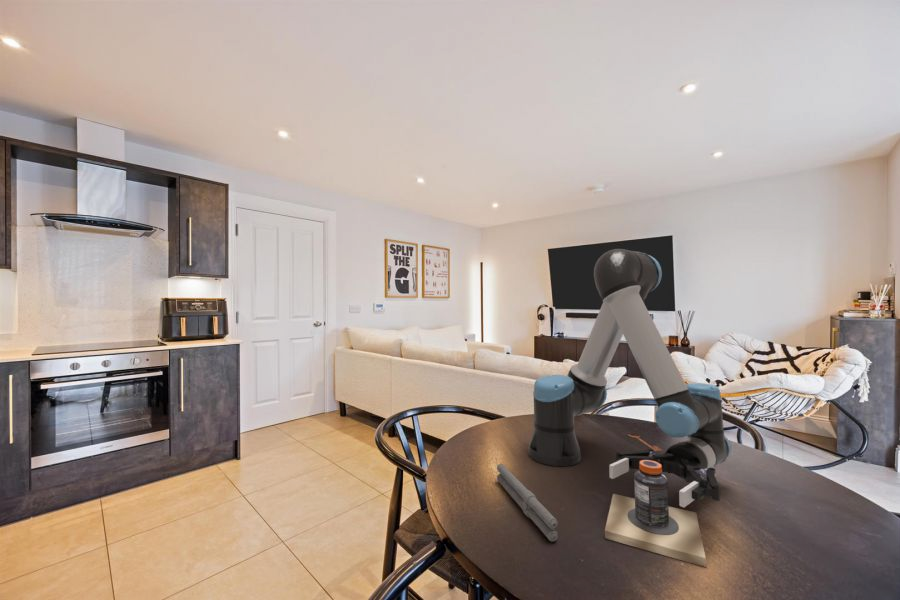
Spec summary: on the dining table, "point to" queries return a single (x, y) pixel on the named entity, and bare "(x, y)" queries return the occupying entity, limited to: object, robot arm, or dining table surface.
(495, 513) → the dining table surface
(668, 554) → the stand
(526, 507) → the metal rod assembly
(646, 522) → the pill bottle
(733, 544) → the dining table surface
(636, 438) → the key
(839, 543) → the dining table surface
